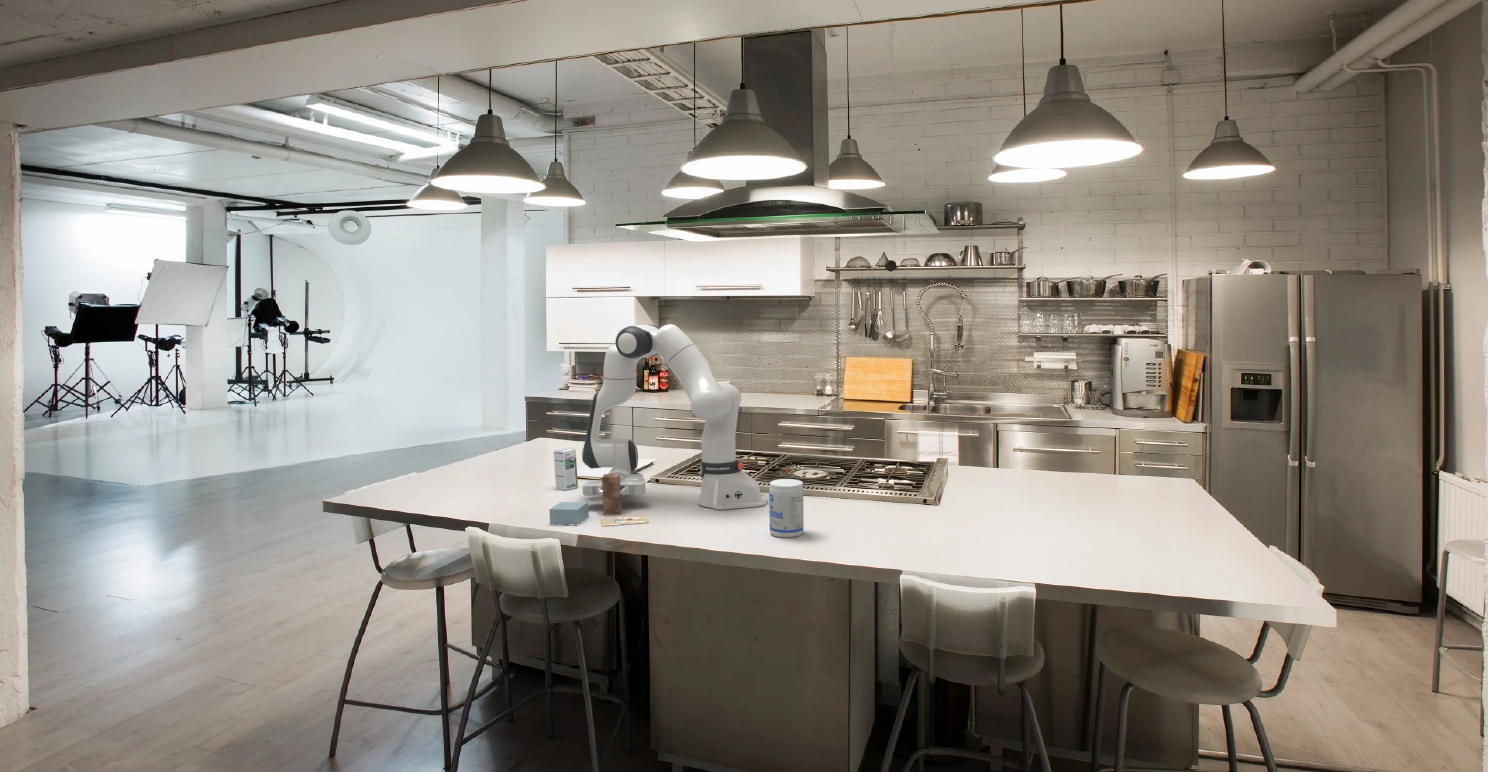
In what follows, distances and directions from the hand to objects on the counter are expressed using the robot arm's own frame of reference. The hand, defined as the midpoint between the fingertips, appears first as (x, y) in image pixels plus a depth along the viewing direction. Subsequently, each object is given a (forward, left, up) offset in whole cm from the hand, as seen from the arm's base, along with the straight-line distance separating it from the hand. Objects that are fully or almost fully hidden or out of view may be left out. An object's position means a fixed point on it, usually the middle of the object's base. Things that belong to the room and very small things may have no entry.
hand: (611, 493), depth 251 cm
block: (0, -1, -7) cm, 7 cm away
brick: (+12, +7, -7) cm, 16 cm away
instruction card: (-5, +9, -7) cm, 12 cm away
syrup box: (+22, -39, -7) cm, 45 cm away
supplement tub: (-53, +29, -7) cm, 61 cm away
